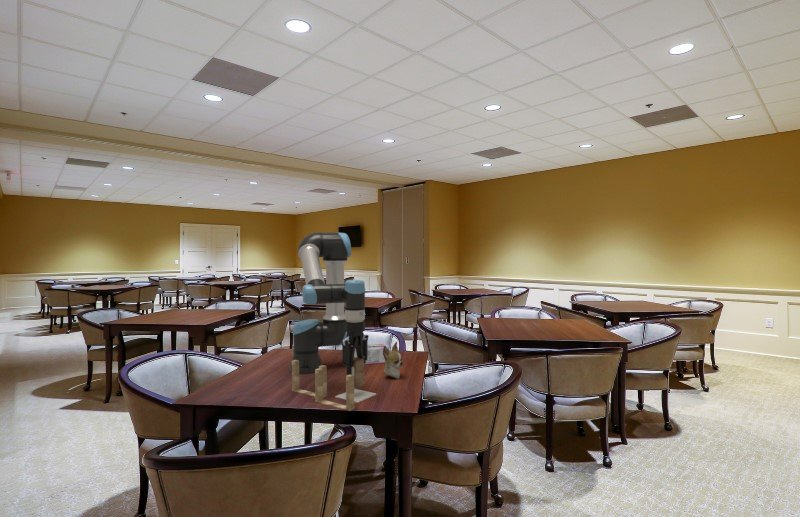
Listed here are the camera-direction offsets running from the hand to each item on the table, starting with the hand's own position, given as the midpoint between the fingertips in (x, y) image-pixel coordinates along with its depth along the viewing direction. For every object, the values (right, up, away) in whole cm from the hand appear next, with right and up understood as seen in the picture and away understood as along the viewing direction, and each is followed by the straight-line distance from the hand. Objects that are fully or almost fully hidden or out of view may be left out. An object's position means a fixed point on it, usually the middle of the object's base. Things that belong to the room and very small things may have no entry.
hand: (355, 381), depth 161 cm
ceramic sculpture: (+14, -6, +24) cm, 29 cm away
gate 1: (-18, -6, +3) cm, 19 cm away
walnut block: (0, -1, 0) cm, 1 cm away
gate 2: (-7, -6, -10) cm, 13 cm away
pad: (0, -6, 0) cm, 6 cm away
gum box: (+1, -2, +48) cm, 48 cm away
